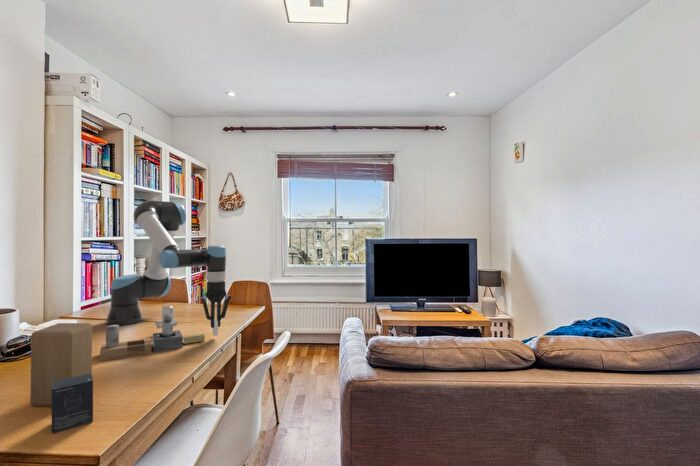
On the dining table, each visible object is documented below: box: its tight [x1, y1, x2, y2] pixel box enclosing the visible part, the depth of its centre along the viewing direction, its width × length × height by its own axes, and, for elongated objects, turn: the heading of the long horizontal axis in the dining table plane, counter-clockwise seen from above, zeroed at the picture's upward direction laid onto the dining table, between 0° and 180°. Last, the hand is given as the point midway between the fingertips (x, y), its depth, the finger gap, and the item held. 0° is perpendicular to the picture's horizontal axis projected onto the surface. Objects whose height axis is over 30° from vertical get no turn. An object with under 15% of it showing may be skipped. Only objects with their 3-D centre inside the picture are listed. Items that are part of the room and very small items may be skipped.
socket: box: [152, 329, 184, 353], centre depth 141 cm, size 10×10×4 cm
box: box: [50, 372, 94, 434], centre depth 85 cm, size 8×6×11 cm
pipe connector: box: [155, 318, 178, 329], centre depth 156 cm, size 10×10×10 cm
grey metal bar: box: [161, 305, 174, 338], centre depth 141 cm, size 4×4×16 cm
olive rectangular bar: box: [182, 332, 206, 345], centre depth 147 cm, size 3×8×2 cm, turn 123°
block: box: [30, 322, 93, 407], centre depth 97 cm, size 10×10×20 cm
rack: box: [99, 325, 152, 362], centre depth 132 cm, size 8×16×11 cm, turn 123°
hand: (215, 334), depth 151 cm, fingers closed
